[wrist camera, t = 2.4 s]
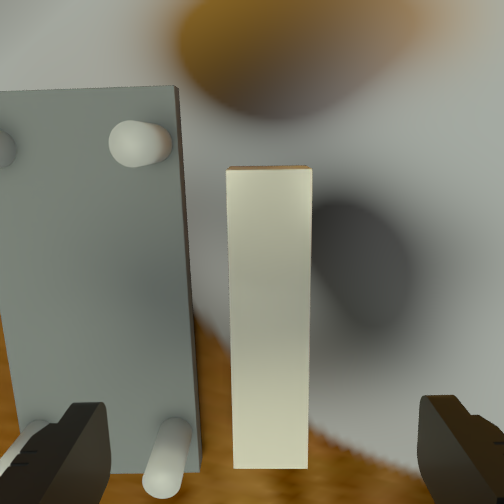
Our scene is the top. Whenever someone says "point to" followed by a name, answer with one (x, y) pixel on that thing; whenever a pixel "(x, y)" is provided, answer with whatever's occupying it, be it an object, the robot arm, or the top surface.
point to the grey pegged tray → (100, 272)
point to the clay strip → (269, 313)
